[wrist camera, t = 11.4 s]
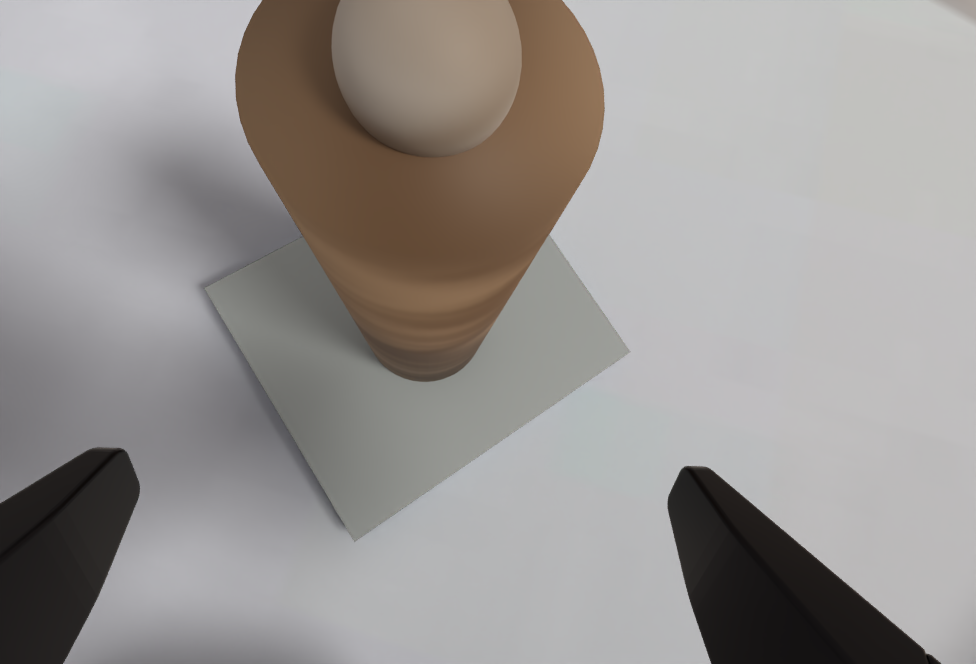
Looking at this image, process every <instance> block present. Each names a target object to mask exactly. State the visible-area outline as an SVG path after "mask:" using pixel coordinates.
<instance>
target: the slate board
mask: <svg viewBox="0 0 976 664" xmlns="http://www.w3.org/2000/svg"><path fill="white" fill-rule="evenodd" d="M204 289H205V291H206V292H207V294H208V296H209V297H210V299H211V301H212V302H213V304H214V306H215V307H216V309H217V311H218V313H219V314H220V316H221V318H222V319H223V321H224V323H225V324H226V326H227V328H228V329H229V331H230V333H231V334H232V336H233V338H234V340H235V341H236V343H237V345H238V346H239V348H240V350H241V351H242V353H243V355H244V356H245V358H246V360H247V361H248V363H249V365H250V367H251V368H252V370H253V372H254V373H255V375H256V377H257V378H258V380H259V382H260V383H261V385H262V387H263V388H264V390H265V392H266V394H267V395H268V397H269V399H270V400H271V402H272V404H273V405H274V407H275V409H276V410H277V412H278V414H279V415H280V417H281V419H282V421H283V422H284V424H285V426H286V427H287V429H288V431H289V432H290V434H291V436H292V437H293V439H294V441H295V442H296V444H297V446H298V448H299V449H300V451H301V453H302V454H303V456H304V458H305V459H306V461H307V463H308V464H309V466H310V468H311V469H312V471H313V473H314V475H315V476H316V478H317V480H318V481H319V483H320V485H321V486H322V488H323V490H324V491H325V493H326V495H327V496H328V498H329V500H330V502H331V503H332V505H333V507H334V508H335V510H336V512H337V513H338V515H339V517H340V518H341V520H342V522H343V523H344V525H345V527H346V529H347V530H348V532H349V534H350V535H351V537H352V539H353V540H354V542H355V541H356V540H358V539H359V538H361V537H362V536H364V535H365V534H367V533H368V532H369V531H371V530H372V529H374V528H375V527H377V526H378V525H380V524H381V523H383V522H384V521H385V520H387V519H388V518H390V517H391V516H393V515H394V514H396V513H397V512H399V511H400V510H401V509H403V508H404V507H406V506H407V505H409V504H410V503H412V502H413V501H415V500H416V499H417V498H419V497H420V496H422V495H423V494H425V493H426V492H428V491H429V490H431V489H432V488H433V487H435V486H436V485H438V484H439V483H441V482H442V481H444V480H445V479H447V478H448V477H449V476H451V475H452V474H454V473H455V472H457V471H458V470H460V469H461V468H463V467H464V466H465V465H467V464H468V463H470V462H471V461H473V460H474V459H476V458H477V457H479V456H480V455H481V454H483V453H484V452H486V451H487V450H489V449H490V448H492V447H493V446H495V445H496V444H497V443H499V442H500V441H502V440H503V439H505V438H506V437H508V436H509V435H511V434H512V433H513V432H515V431H516V430H518V429H519V428H521V427H522V426H524V425H525V424H527V423H528V422H529V421H531V420H532V419H534V418H535V417H537V416H538V415H540V414H541V413H543V412H544V411H545V410H547V409H548V408H550V407H551V406H553V405H554V404H556V403H557V402H559V401H560V400H561V399H563V398H564V397H566V396H567V395H569V394H570V393H572V392H573V391H575V390H576V389H577V388H579V387H580V386H582V385H583V384H585V383H586V382H588V381H589V380H590V379H592V378H593V377H595V376H596V375H598V374H599V373H601V372H602V371H604V370H605V369H606V368H608V367H609V366H611V365H612V364H614V363H615V362H617V361H618V360H620V359H621V358H622V357H624V356H625V355H627V354H628V353H630V351H629V349H628V348H627V346H626V345H625V343H624V342H623V341H622V339H621V338H620V336H619V335H618V333H617V332H616V330H615V329H614V328H613V326H612V325H611V323H610V322H609V320H608V319H607V317H606V316H605V314H604V313H603V312H602V310H601V309H600V307H599V306H598V304H597V303H596V301H595V300H594V299H593V297H592V296H591V294H590V293H589V291H588V290H587V288H586V287H585V286H584V284H583V283H582V281H581V280H580V278H579V277H578V275H577V274H576V273H575V271H574V270H573V268H572V267H571V265H570V264H569V262H568V261H567V260H566V258H565V257H564V255H563V254H562V252H561V251H560V249H559V248H558V247H557V245H556V244H555V242H554V241H553V239H552V238H551V236H550V235H548V237H547V238H546V240H545V242H544V243H543V245H542V246H541V248H540V250H539V251H538V253H537V255H536V256H535V258H534V259H533V261H532V263H531V264H530V266H529V268H528V269H527V271H526V272H525V274H524V276H523V277H522V279H521V280H520V282H519V284H518V285H517V287H516V289H515V290H514V292H513V293H512V295H511V297H510V298H509V300H508V301H507V303H506V305H505V306H504V308H503V310H502V311H501V313H500V314H499V316H498V318H497V319H496V321H495V322H494V324H493V326H492V327H491V329H490V331H489V332H488V334H487V335H486V337H485V339H484V340H483V342H482V344H481V345H480V347H479V348H478V350H477V352H476V353H475V355H474V356H473V358H472V359H471V360H470V362H469V363H468V364H467V365H466V366H465V367H464V368H463V369H461V370H460V371H458V372H457V373H455V374H454V375H452V376H450V377H447V378H445V379H442V380H438V381H431V382H418V381H411V380H408V379H405V378H402V377H400V376H398V375H396V374H394V373H392V372H391V371H389V370H388V369H387V368H386V367H385V366H384V365H383V364H382V363H381V362H380V361H379V360H378V359H377V357H376V356H375V354H374V353H373V351H372V350H371V348H370V346H369V345H368V343H367V341H366V340H365V338H364V336H363V335H362V333H361V331H360V330H359V328H358V326H357V325H356V323H355V321H354V320H353V318H352V316H351V315H350V313H349V311H348V310H347V308H346V306H345V305H344V303H343V301H342V300H341V298H340V297H339V295H338V293H337V292H336V290H335V288H334V287H333V285H332V283H331V282H330V280H329V278H328V277H327V275H326V273H325V272H324V270H323V268H322V267H321V265H320V263H319V262H318V260H317V258H316V257H315V255H314V253H313V252H312V250H311V249H310V247H309V245H308V244H307V242H306V240H305V239H304V237H301V238H299V239H297V240H295V241H293V242H291V243H289V244H287V245H285V246H284V247H282V248H280V249H278V250H276V251H274V252H272V253H270V254H268V255H266V256H264V257H263V258H261V259H259V260H257V261H255V262H253V263H251V264H249V265H247V266H245V267H243V268H242V269H240V270H238V271H236V272H234V273H232V274H230V275H228V276H226V277H224V278H223V279H221V280H219V281H217V282H215V283H213V284H211V285H209V286H207V287H205V288H204Z"/></svg>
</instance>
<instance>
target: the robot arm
mask: <svg viewBox="0 0 976 664" xmlns="http://www.w3.org/2000/svg"><path fill="white" fill-rule="evenodd" d="M139 493H140V484H139V481H138V478H137V476H136V473H135V471H134V468H133V466H132V463H131V461H130V458H129V456H128V454H127V452H126V451H125V450H123V449H121V448H103V447H97V448H92V449H89V450H88V451H86V452H84V453H82V454H81V455H79V456H77V457H76V458H74V459H72V460H71V461H69V462H67V463H66V464H64V465H63V466H61V467H59V468H58V469H56V470H54V471H53V472H51V473H49V474H48V475H46V476H45V477H43V478H41V479H40V480H38V481H36V482H35V483H33V484H31V485H30V486H28V487H27V488H25V489H23V490H22V491H20V492H18V493H17V494H15V495H13V496H12V497H10V498H8V499H7V500H5V501H4V502H2V503H0V664H63V663H64V661H65V659H66V657H67V656H68V654H69V652H70V650H71V648H72V646H73V644H74V642H75V640H76V639H77V637H78V635H79V633H80V631H81V629H82V627H83V625H84V623H85V621H86V620H87V618H88V616H89V614H90V612H91V610H92V608H93V606H94V604H95V602H96V600H97V598H98V596H99V593H100V591H101V589H102V587H103V584H104V582H105V580H106V577H107V575H108V572H109V570H110V567H111V565H112V562H113V560H114V557H115V555H116V552H117V550H118V547H119V545H120V542H121V540H122V538H123V535H124V533H125V530H126V528H127V525H128V523H129V520H130V518H131V515H132V513H133V510H134V508H135V505H136V503H137V500H138V497H139ZM668 512H669V516H670V521H671V525H672V529H673V534H674V538H675V542H676V546H677V551H678V555H679V559H680V563H681V568H682V572H683V576H684V580H685V584H686V588H687V592H688V596H689V599H690V602H691V605H692V609H693V612H694V615H695V618H696V621H697V623H698V626H699V629H700V632H701V635H702V638H703V641H704V644H705V647H706V650H707V653H708V656H709V658H710V661H711V664H941V663H940V662H939V661H938V660H936V659H935V658H934V657H933V656H932V655H930V654H926V653H925V650H924V649H923V648H922V647H921V646H920V645H918V644H917V643H916V642H915V641H914V640H913V639H911V638H910V637H909V636H908V635H907V634H905V633H904V632H903V631H902V630H901V629H900V628H898V627H897V626H896V625H895V624H894V623H892V622H891V621H890V620H889V619H888V618H887V617H885V616H884V615H883V614H882V613H881V612H879V611H878V610H877V609H876V608H875V607H873V606H872V605H871V604H870V603H869V602H868V601H866V600H865V599H864V598H863V597H862V596H860V595H859V594H858V593H857V592H856V591H855V590H853V589H852V588H851V587H850V586H849V585H847V584H846V583H845V582H844V581H843V580H842V579H840V578H839V577H838V576H837V575H836V574H834V573H833V572H832V571H831V570H830V569H828V568H827V567H826V566H825V565H824V564H823V563H821V562H820V561H819V560H818V559H817V558H815V557H814V556H813V555H812V554H811V553H810V552H808V551H807V550H806V549H805V548H804V547H802V546H801V545H800V544H799V543H798V542H797V541H795V540H794V539H793V538H792V537H791V536H789V535H788V534H787V533H786V532H785V531H784V530H782V529H781V528H780V527H779V526H778V525H776V524H775V523H774V522H773V521H772V520H770V519H769V518H768V517H767V516H766V515H765V514H763V513H762V512H761V511H760V510H759V509H757V508H756V507H755V506H754V505H753V504H752V503H750V502H749V501H748V500H747V499H746V498H744V497H743V496H742V495H741V494H740V493H739V492H737V491H736V490H735V489H734V488H733V487H731V486H730V485H729V484H728V483H727V482H725V481H724V480H723V479H722V478H721V477H720V476H718V475H717V474H716V473H715V472H714V471H712V470H711V469H709V468H707V467H702V466H685V467H684V468H682V469H681V471H680V473H679V475H678V477H677V479H676V481H675V483H674V485H673V488H672V490H671V492H670V494H669V497H668Z"/></svg>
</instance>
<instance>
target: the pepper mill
mask: <svg viewBox="0 0 976 664" xmlns="http://www.w3.org/2000/svg"><path fill="white" fill-rule="evenodd" d="M235 83H236V101H237V106H238V111H239V117H240V121H241V124H242V127H243V130H244V133H245V135H246V138H247V141H248V143H249V145H250V147H251V149H252V151H253V153H254V155H255V157H256V158H257V160H258V162H259V164H260V166H261V167H262V169H263V171H264V172H265V174H266V176H267V177H268V179H269V181H270V182H271V184H272V186H273V187H274V189H275V191H276V192H277V194H278V196H279V197H280V199H281V200H282V202H283V204H284V205H285V207H286V209H287V210H288V212H289V214H290V215H291V217H292V219H293V220H294V222H295V224H296V225H297V227H298V229H299V230H300V232H301V234H302V235H303V237H304V239H305V240H306V242H307V244H308V245H309V247H310V249H311V250H312V252H313V253H314V255H315V257H316V258H317V260H318V262H319V263H320V265H321V267H322V268H323V270H324V272H325V273H326V275H327V277H328V278H329V280H330V282H331V283H332V285H333V287H334V288H335V290H336V292H337V293H338V295H339V297H340V298H341V300H342V301H343V303H344V305H345V306H346V308H347V310H348V311H349V313H350V315H351V316H352V318H353V320H354V321H355V323H356V325H357V326H358V328H359V330H360V331H361V333H362V335H363V336H364V338H365V340H366V341H367V343H368V345H369V346H370V348H371V350H372V351H373V353H374V354H375V356H376V357H377V359H378V360H379V361H380V362H381V363H382V364H383V365H384V366H385V367H386V368H387V369H388V370H389V371H391V372H392V373H394V374H396V375H398V376H400V377H402V378H405V379H408V380H411V381H418V382H431V381H438V380H442V379H445V378H447V377H450V376H452V375H454V374H455V373H457V372H458V371H460V370H461V369H463V368H464V367H465V366H466V365H467V364H468V363H469V362H470V360H471V359H472V358H473V356H474V355H475V353H476V352H477V350H478V348H479V347H480V345H481V344H482V342H483V340H484V339H485V337H486V335H487V334H488V332H489V331H490V329H491V327H492V326H493V324H494V322H495V321H496V319H497V318H498V316H499V314H500V313H501V311H502V310H503V308H504V306H505V305H506V303H507V301H508V300H509V298H510V297H511V295H512V293H513V292H514V290H515V289H516V287H517V285H518V284H519V282H520V280H521V279H522V277H523V276H524V274H525V272H526V271H527V269H528V268H529V266H530V264H531V263H532V261H533V259H534V258H535V256H536V255H537V253H538V251H539V250H540V248H541V246H542V245H543V243H544V242H545V240H546V238H547V237H548V235H549V234H550V232H551V230H552V229H553V227H554V225H555V224H556V222H557V221H558V219H559V217H560V216H561V214H562V213H563V211H564V209H565V208H566V206H567V204H568V203H569V201H570V200H571V198H572V196H573V195H574V193H575V191H576V190H577V188H578V187H579V185H580V183H581V182H582V180H583V178H584V177H585V175H586V173H587V172H588V170H589V168H590V166H591V164H592V161H593V159H594V157H595V154H596V152H597V149H598V146H599V142H600V138H601V134H602V130H603V120H604V109H605V108H604V88H603V83H602V78H601V73H600V68H599V65H598V62H597V59H596V56H595V53H594V50H593V48H592V46H591V44H590V42H589V40H588V38H587V36H586V34H585V31H584V30H583V28H582V27H581V25H580V24H579V22H578V21H577V19H576V18H575V16H574V14H573V13H572V12H571V11H570V9H569V8H568V7H567V6H566V5H565V3H564V2H563V1H562V0H262V2H261V3H260V5H259V6H258V8H257V9H256V11H255V12H254V14H253V16H252V18H251V20H250V22H249V24H248V26H247V28H246V31H245V33H244V36H243V39H242V42H241V46H240V49H239V53H238V59H237V66H236V74H235Z"/></svg>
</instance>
